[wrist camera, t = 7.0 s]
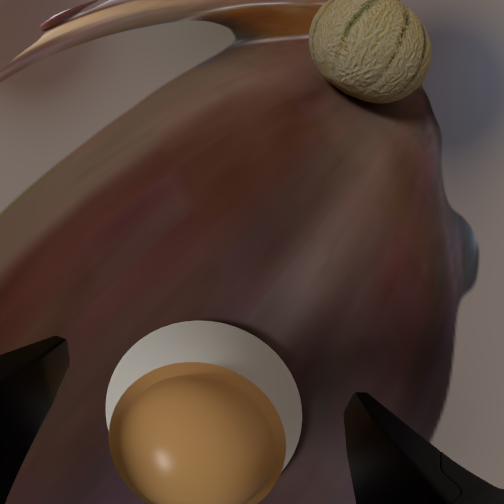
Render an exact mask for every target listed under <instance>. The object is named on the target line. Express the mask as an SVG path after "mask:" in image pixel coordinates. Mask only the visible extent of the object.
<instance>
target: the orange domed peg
mask: <svg viewBox="0 0 504 504" xmlns="http://www.w3.org/2000/svg"><path fill="white" fill-rule="evenodd" d="M109 447H110V451H111V456H112V459H113V462H114V465H115V467H116V469H117V471H118V473H119V475H120V477H121V478H122V479H123V481H124V482H125V484H126V485H127V486H128V487H129V489H130V490H131V491H132V492H133V493H134V494H135V495H136V496H137V497H139V498H140V499H141V500H142V501H143V502H145V503H146V504H257V503H259V502H260V501H261V500H262V499H263V498H264V497H265V496H266V495H267V494H268V493H269V492H270V491H271V489H272V488H273V487H274V485H275V484H276V482H277V480H278V478H279V477H280V474H281V471H282V469H283V466H284V461H285V456H286V436H285V432H284V427H283V424H282V421H281V419H280V416H279V414H278V412H277V410H276V408H275V406H274V405H273V404H272V402H271V401H270V399H269V398H268V397H267V396H266V395H265V394H264V393H263V391H262V390H261V389H260V388H258V387H257V386H256V385H255V384H254V383H253V382H251V381H250V380H248V379H247V378H245V377H244V376H242V375H240V374H238V373H236V372H234V371H232V370H230V369H227V368H224V367H221V366H218V365H213V364H209V363H201V362H182V363H174V364H170V365H165V366H162V367H159V368H157V369H154V370H152V371H150V372H148V373H146V374H144V375H143V376H141V377H140V378H139V379H137V380H136V381H135V382H134V383H132V384H131V385H130V386H129V387H128V388H127V389H126V391H125V392H124V393H123V395H122V396H121V397H120V399H119V401H118V402H117V404H116V406H115V408H114V411H113V414H112V417H111V421H110V425H109Z"/></svg>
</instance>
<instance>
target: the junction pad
mask: <svg viewBox="0 0 504 504" xmlns="http://www.w3.org/2000/svg"><path fill="white" fill-rule="evenodd" d="M182 362H201V363H209V364H213V365H218V366H221V367H224V368H227V369H230V370H232V371H234V372H236V373H238V374H240V375H242V376H244V377H245V378H247V379H248V380H250V381H251V382H253V383H254V384H255V385H256V386H257V387H258V388H260V389H261V390H262V391H263V393H264V394H265V395H266V396H267V397H268V398H269V399H270V401H271V402H272V404H273V405H274V406H275V408H276V410H277V412H278V414H279V416H280V419H281V421H282V424H283V427H284V432H285V436H286V456H285V461H284V466H283V469H284V468H285V467H286V466H287V464H288V463H289V461H290V459H291V457H292V456H293V454H294V452H295V449H296V447H297V444H298V441H299V437H300V433H301V427H302V406H301V400H300V395H299V392H298V389H297V385H296V383H295V381H294V379H293V377H292V374H291V373H290V371H289V369H288V368H287V366H286V365H285V363H284V362H283V361H282V360H281V358H280V357H279V356H278V355H277V353H275V352H274V351H273V350H272V349H271V348H270V347H269V346H268V345H267V344H265V343H264V342H263V341H261V340H260V339H259V338H257V337H255V336H254V335H252V334H250V333H248V332H247V331H244V330H242V329H239V328H237V327H234V326H231V325H227V324H224V323H219V322H213V321H185V322H180V323H175V324H171V325H168V326H165V327H162V328H160V329H158V330H156V331H154V332H152V333H150V334H148V335H147V336H145V337H144V338H142V339H141V340H139V341H138V342H137V343H136V344H135V345H134V346H132V347H131V348H130V349H129V351H128V352H127V353H126V354H125V355H124V356H123V358H122V359H121V361H120V362H119V364H118V365H117V367H116V369H115V371H114V373H113V375H112V377H111V380H110V383H109V387H108V391H107V397H106V419H107V426H108V430H109V425H110V421H111V417H112V414H113V411H114V408H115V406H116V404H117V402H118V401H119V399H120V397H121V396H122V395H123V393H124V392H125V391H126V389H127V388H128V387H129V386H130V385H131V384H132V383H134V382H135V381H136V380H137V379H139V378H140V377H141V376H143V375H144V374H146V373H148V372H150V371H152V370H154V369H157V368H159V367H162V366H165V365H170V364H174V363H182ZM283 469H282V471H283ZM282 471H281V472H282Z"/></svg>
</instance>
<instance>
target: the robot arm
mask: <svg viewBox="0 0 504 504" xmlns="http://www.w3.org/2000/svg"><path fill="white" fill-rule="evenodd" d="M69 366H70V355H69V348H68V343H67V340H66V339H64V338H61V337H58V336H53V337H50V338H47V339H44V340H41V341H39V342H36V343H33V344H30V345H27V346H24V347H22V348H19V349H16V350H13V351H10V352H7V353H4V354H2V355H0V504H5V502H6V500H7V498H6V497H8V494H9V492H10V490H11V487H12V485H13V483H14V480H15V478H16V476H17V474H18V472H19V469H20V467H21V465H22V463H23V461H24V459H25V457H26V455H27V453H28V451H29V448H30V446H31V444H32V442H33V441H34V439H35V437H36V435H37V433H38V431H39V429H40V427H41V425H42V423H43V421H44V420H45V418H46V416H47V414H48V412H49V410H50V409H51V407H52V405H53V403H54V401H55V398H56V396H57V394H58V391H59V389H60V387H61V384H62V382H63V380H64V377H65V375H66V373H67V371H68V368H69ZM344 425H345V437H346V449H347V457H348V463H349V468H350V473H351V478H352V483H353V488H354V494H355V499H356V504H504V489H500V488H497V487H495V486H493V485H491V484H489V483H488V482H486V481H484V480H483V479H481V478H479V477H477V476H476V475H474V474H473V473H471V472H469V471H468V470H466V469H465V468H463V467H461V466H460V465H458V464H457V463H456V462H454V461H453V460H451V459H450V458H449V457H447V456H446V455H444V454H443V453H442V452H440V451H439V450H438V449H437V448H436V447H434V446H433V445H432V444H431V443H429V442H428V441H427V440H425V439H424V438H423V437H422V436H420V435H419V434H418V433H416V432H415V431H414V430H413V429H411V428H410V427H409V426H408V425H406V424H405V423H404V422H403V421H401V420H400V419H399V418H398V417H396V416H395V415H394V414H393V413H391V412H390V411H389V410H388V409H386V408H385V407H384V406H383V405H382V404H380V403H379V402H378V401H377V400H375V399H374V398H373V397H372V396H371V395H369V394H368V393H365V392H356V393H354V394H353V396H352V397H351V399H350V401H349V403H348V405H347V407H346V409H345V411H344Z"/></svg>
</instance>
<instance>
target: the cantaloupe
mask: <svg viewBox="0 0 504 504" xmlns="http://www.w3.org/2000/svg"><path fill="white" fill-rule="evenodd" d="M309 45H310V52H311V54H312V58H313V60H314V63H315V65H316V67H317V69H318V70H319V71H320V73H321V74H322V76H323V77H324V78H325V79H326V80H327V81H328V82H329V83H331V84H332V85H333V86H335V87H336V88H338V89H339V90H341V91H342V92H344V93H345V94H347V95H350V96H353V97H355V98H358V99H360V100H362V101H366V102H371V103H391V102H394V101H398V100H401V99H402V98H404V97H406V96H408V95H410V94H411V93H412V92H413V91H414V90H416V89H417V88H418V87H419V86H420V85H421V84H422V83H423V81H424V79H425V78H426V75H427V73H428V71H429V68H430V63H431V44H430V39H429V36H428V33H427V30H426V28H425V27H424V25H423V23H422V22H421V21H420V19H419V18H418V17H417V16H416V15H415V14H414V13H413V12H412V11H411V10H410V9H409V8H408V7H406V6H405V5H404V4H402V3H401V2H400V0H329V1H327V2H326V3H325V4H324V5H322V6H321V8H320V9H319V10H318V12H317V13H316V15H315V16H314V18H313V21H312V24H311V27H310V32H309Z"/></svg>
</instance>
